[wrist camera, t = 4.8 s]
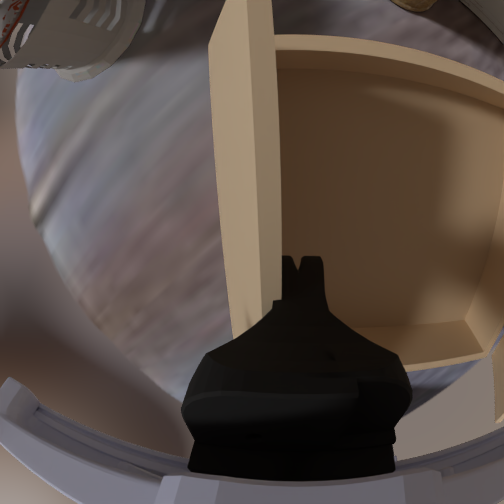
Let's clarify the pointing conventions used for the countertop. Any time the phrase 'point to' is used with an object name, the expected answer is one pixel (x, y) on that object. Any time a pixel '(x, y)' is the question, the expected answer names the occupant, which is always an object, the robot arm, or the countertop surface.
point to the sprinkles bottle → (415, 4)
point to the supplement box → (489, 14)
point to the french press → (69, 34)
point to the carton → (396, 192)
